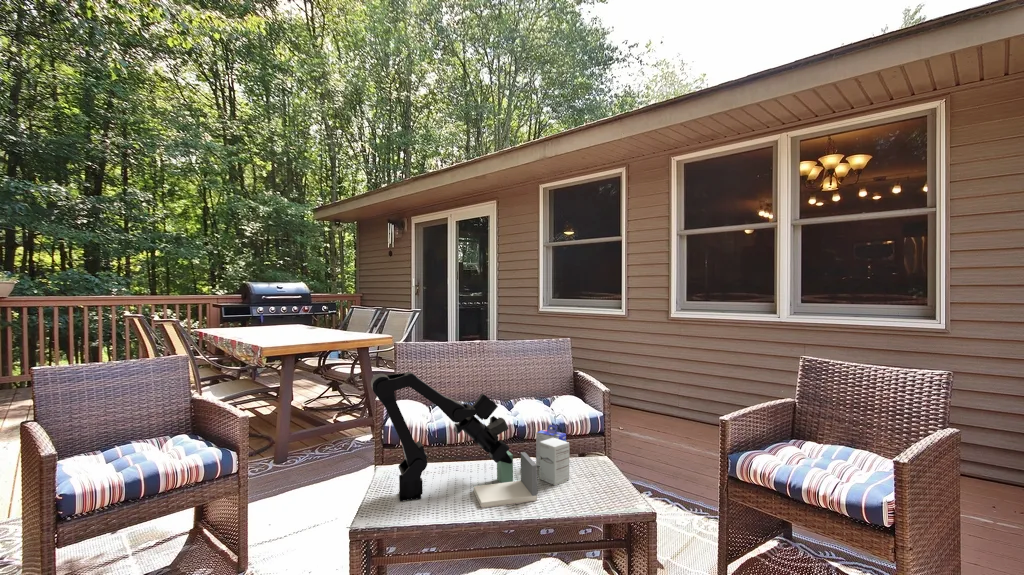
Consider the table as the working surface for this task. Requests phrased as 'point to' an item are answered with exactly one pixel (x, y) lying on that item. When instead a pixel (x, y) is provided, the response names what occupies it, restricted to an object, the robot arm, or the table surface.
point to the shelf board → (511, 487)
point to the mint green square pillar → (505, 470)
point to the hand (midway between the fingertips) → (508, 460)
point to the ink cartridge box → (546, 435)
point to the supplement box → (554, 461)
